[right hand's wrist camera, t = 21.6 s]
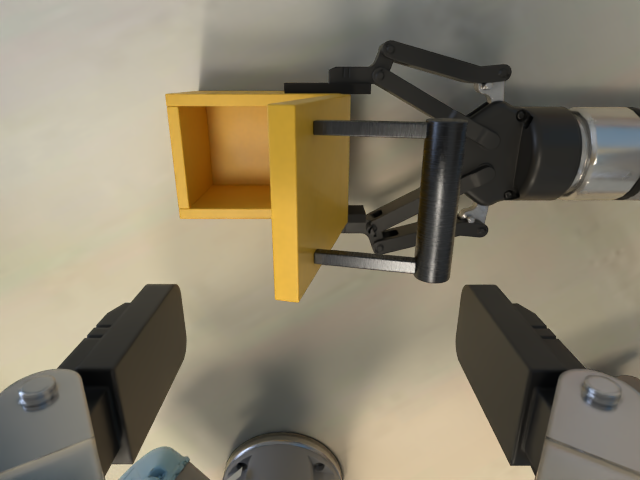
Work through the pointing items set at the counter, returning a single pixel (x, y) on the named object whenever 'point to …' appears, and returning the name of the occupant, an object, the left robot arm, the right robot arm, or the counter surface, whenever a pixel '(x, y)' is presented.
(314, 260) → the yellow handled panel
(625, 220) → the counter surface
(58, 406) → the right robot arm
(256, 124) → the chest
